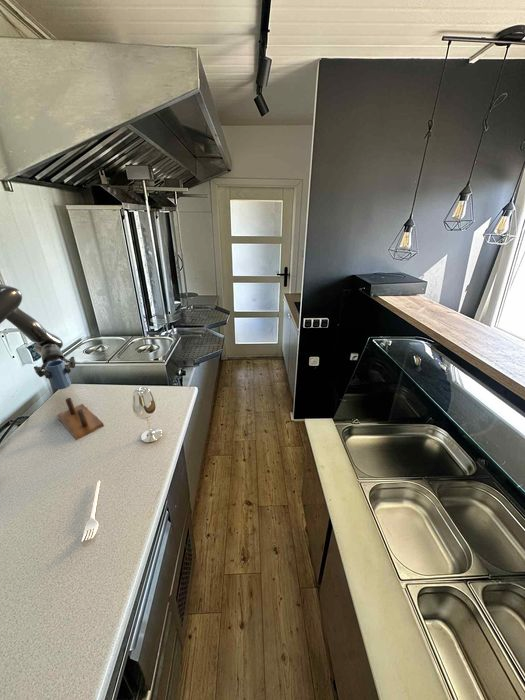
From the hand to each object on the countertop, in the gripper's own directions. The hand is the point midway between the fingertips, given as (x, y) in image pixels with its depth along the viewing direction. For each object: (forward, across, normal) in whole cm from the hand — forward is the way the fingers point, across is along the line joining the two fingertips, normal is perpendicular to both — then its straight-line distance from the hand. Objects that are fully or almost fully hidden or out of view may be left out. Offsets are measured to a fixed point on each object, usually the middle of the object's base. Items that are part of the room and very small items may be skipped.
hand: (58, 373), depth 108 cm
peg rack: (+3, +1, +22) cm, 22 cm away
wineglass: (+30, +20, +22) cm, 42 cm away
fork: (+49, -3, +22) cm, 54 cm away
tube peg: (-3, 0, +6) cm, 7 cm away
